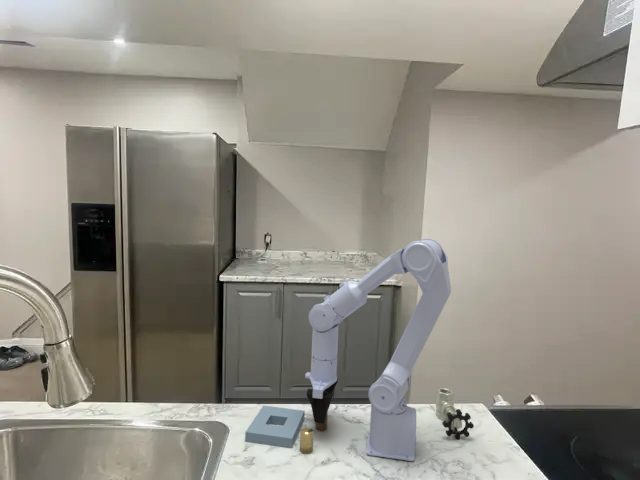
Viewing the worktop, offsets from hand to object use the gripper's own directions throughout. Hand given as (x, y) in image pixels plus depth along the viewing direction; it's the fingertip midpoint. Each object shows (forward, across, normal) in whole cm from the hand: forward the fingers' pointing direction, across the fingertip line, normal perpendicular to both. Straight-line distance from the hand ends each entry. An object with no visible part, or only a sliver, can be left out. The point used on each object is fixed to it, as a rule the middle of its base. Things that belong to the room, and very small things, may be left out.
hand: (321, 415), depth 92 cm
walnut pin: (+3, 0, 0) cm, 3 cm away
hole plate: (+3, +3, -10) cm, 10 cm away
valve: (+3, -9, +29) cm, 30 cm away
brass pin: (+3, +9, -2) cm, 10 cm away
